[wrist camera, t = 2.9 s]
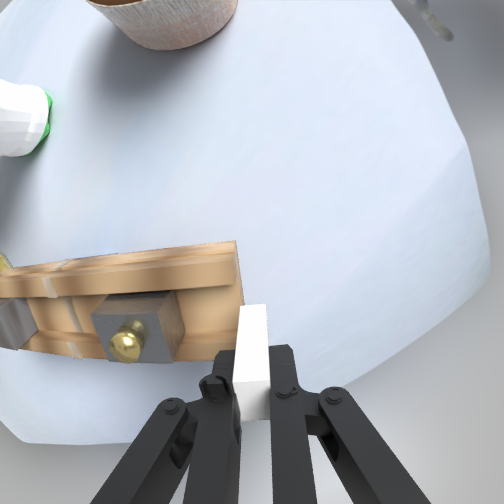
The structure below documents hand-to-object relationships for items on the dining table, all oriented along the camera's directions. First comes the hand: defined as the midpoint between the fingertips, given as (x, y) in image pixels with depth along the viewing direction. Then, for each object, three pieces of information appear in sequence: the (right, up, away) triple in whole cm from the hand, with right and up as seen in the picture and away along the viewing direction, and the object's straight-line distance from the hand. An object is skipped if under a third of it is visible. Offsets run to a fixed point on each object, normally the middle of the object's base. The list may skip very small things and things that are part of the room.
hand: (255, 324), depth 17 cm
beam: (-14, +1, +9) cm, 17 cm away
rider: (-8, 0, +3) cm, 8 cm away
